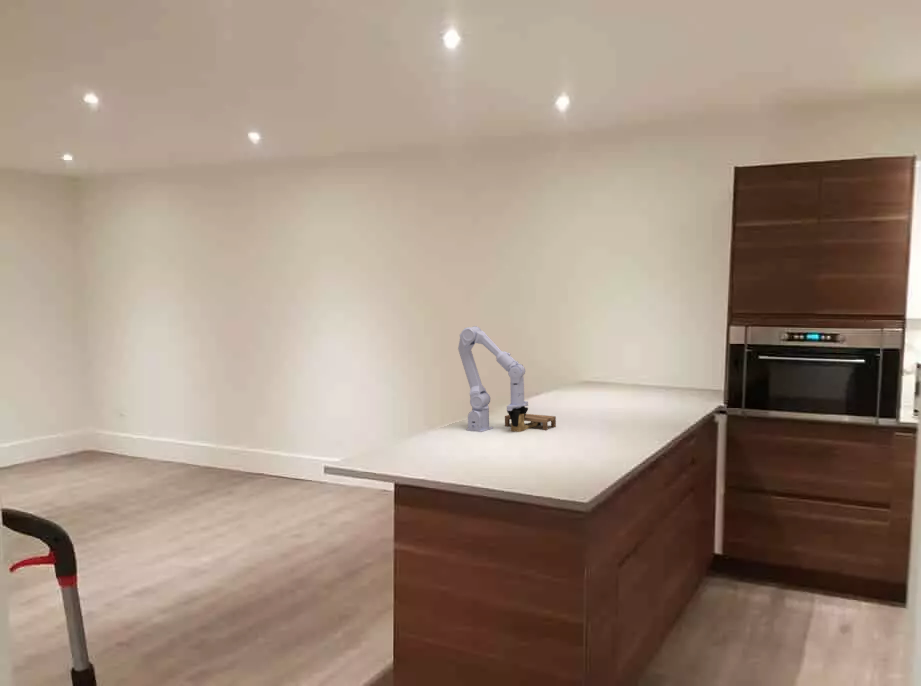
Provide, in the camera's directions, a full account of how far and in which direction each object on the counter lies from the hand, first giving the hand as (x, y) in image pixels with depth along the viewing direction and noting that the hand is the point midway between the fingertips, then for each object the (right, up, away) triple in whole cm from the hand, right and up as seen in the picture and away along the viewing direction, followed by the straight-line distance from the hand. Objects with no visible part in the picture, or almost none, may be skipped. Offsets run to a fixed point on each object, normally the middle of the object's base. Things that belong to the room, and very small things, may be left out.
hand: (517, 425), depth 314 cm
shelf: (+6, -1, +9) cm, 11 cm away
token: (+10, -1, +14) cm, 18 cm away
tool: (+4, -2, +6) cm, 7 cm away
